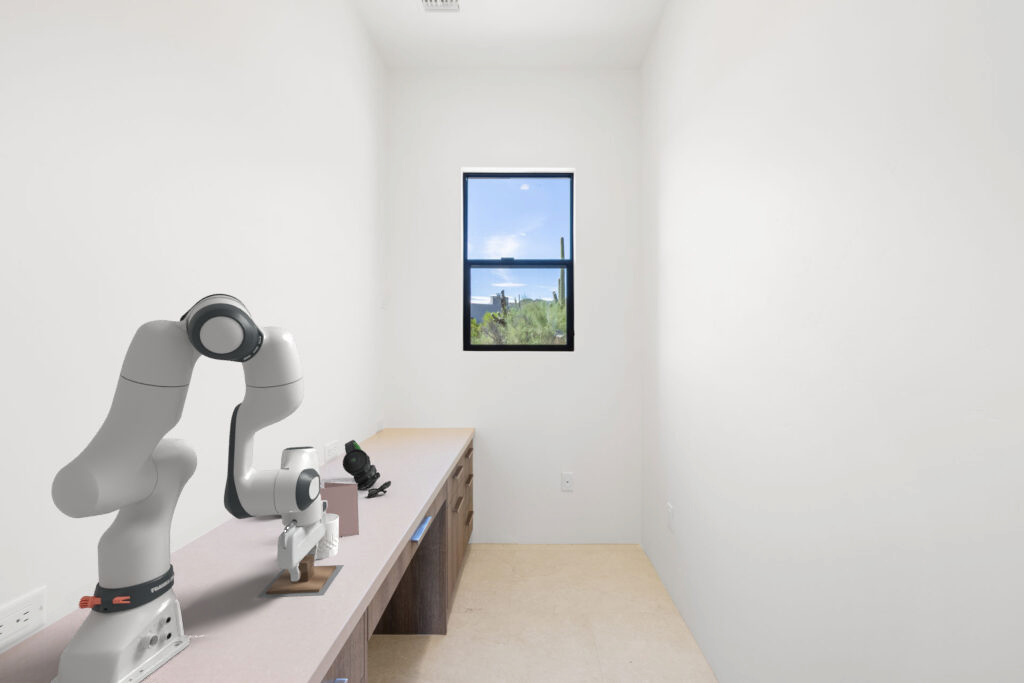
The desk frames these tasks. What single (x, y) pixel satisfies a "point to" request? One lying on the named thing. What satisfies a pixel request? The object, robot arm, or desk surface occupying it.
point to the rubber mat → (321, 592)
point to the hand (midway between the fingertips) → (304, 570)
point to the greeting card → (342, 505)
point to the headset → (362, 469)
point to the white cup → (329, 538)
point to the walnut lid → (303, 578)
